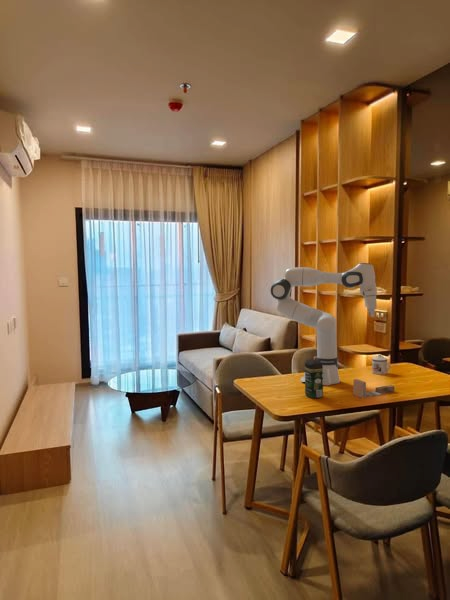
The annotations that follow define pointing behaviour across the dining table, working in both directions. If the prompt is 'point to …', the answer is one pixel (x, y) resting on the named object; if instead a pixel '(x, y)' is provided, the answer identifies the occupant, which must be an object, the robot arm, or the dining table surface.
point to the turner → (380, 391)
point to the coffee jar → (313, 379)
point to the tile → (359, 388)
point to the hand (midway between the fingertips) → (371, 316)
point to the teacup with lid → (380, 365)
